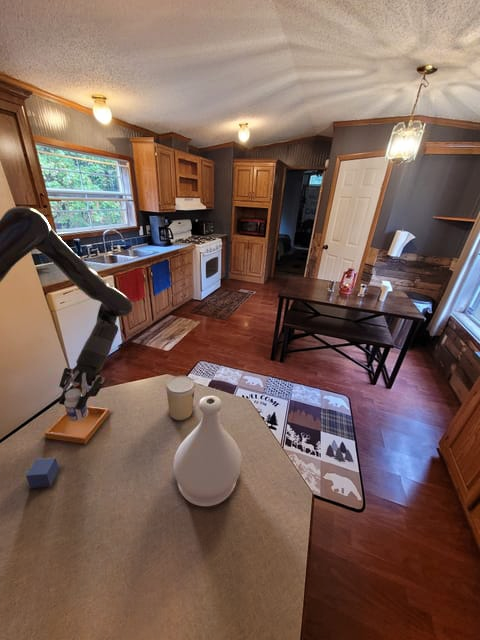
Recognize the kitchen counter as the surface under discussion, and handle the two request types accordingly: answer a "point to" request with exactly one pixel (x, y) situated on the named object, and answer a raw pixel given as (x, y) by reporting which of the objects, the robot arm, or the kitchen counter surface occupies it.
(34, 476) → the blue block
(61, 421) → the amber tray
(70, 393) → the pill bottle
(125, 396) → the kitchen counter surface
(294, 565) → the kitchen counter surface
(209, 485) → the vase
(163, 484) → the kitchen counter surface
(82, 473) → the kitchen counter surface
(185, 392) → the cream upright cylinder
